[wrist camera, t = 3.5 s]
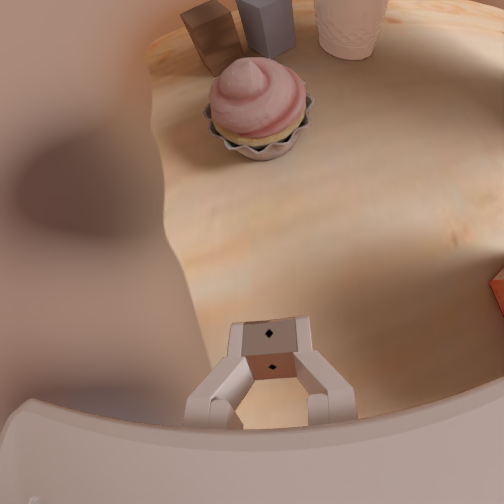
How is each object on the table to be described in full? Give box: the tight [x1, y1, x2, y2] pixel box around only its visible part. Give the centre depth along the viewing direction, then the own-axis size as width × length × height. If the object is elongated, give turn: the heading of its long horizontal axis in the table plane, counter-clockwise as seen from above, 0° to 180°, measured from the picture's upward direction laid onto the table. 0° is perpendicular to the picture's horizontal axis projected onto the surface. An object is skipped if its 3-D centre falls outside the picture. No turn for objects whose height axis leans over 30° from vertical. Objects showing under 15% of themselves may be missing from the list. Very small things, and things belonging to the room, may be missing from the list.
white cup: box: [314, 0, 388, 60], centre depth 22 cm, size 8×8×10 cm
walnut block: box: [180, 0, 244, 77], centre depth 25 cm, size 4×4×8 cm
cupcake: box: [203, 57, 315, 160], centre depth 22 cm, size 9×9×10 cm
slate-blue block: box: [236, 0, 296, 59], centre depth 24 cm, size 4×4×8 cm
